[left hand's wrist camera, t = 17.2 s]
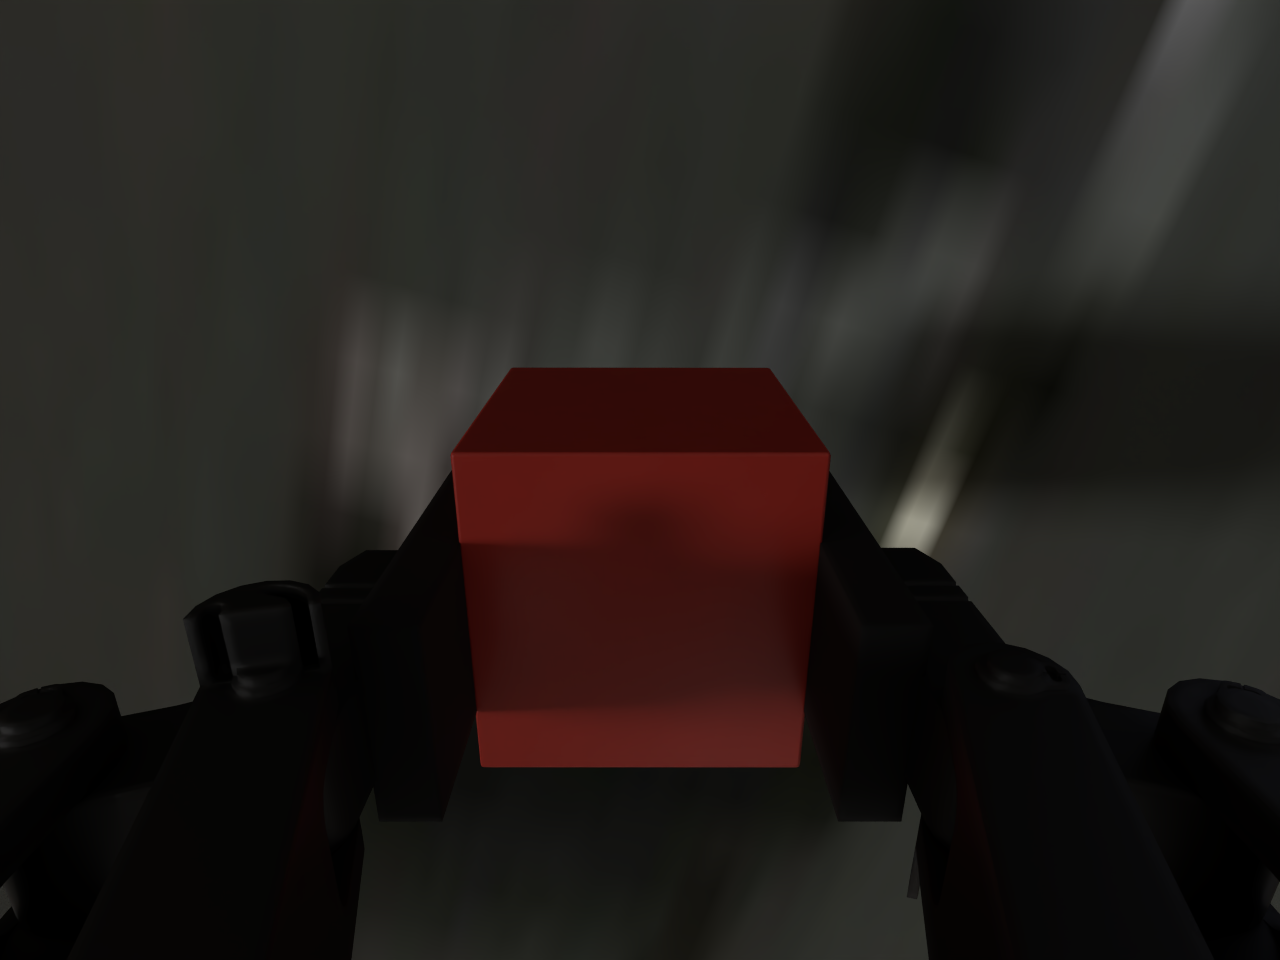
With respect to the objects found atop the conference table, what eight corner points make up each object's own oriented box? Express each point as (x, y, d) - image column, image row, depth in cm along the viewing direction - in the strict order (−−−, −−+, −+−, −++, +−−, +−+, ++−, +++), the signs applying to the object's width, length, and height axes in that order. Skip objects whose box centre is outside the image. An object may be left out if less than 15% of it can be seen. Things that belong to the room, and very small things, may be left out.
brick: (510, 366, 14) (449, 452, 9) (770, 367, 14) (832, 453, 9) (525, 603, 16) (480, 768, 11) (754, 603, 16) (799, 769, 11)
